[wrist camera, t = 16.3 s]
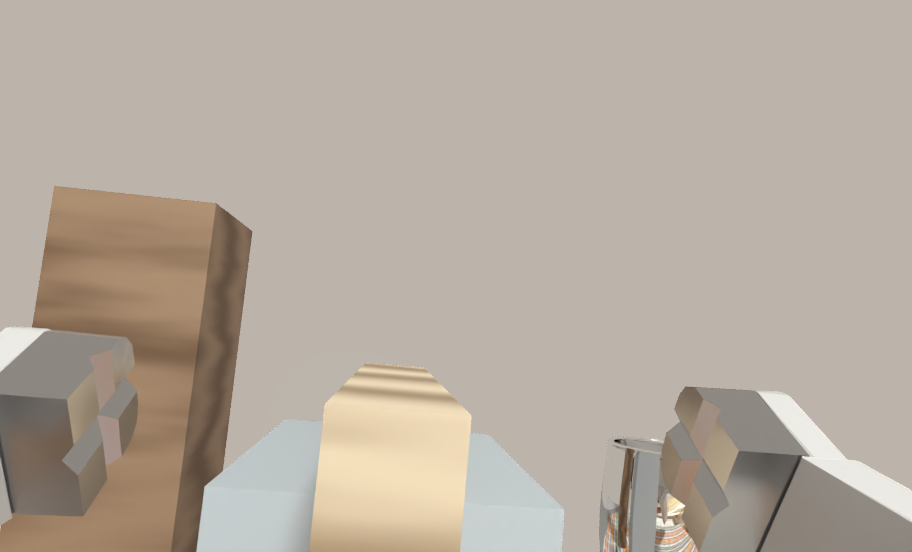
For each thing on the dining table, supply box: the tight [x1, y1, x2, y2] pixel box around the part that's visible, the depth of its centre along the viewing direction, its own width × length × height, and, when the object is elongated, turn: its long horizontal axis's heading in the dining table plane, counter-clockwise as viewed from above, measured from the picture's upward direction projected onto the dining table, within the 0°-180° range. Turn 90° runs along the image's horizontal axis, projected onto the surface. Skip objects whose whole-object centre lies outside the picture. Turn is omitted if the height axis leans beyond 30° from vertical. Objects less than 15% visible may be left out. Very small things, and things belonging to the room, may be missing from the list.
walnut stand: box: [0, 186, 252, 552], centre depth 36 cm, size 9×8×26 cm
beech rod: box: [309, 363, 471, 552], centre depth 23 cm, size 20×3×3 cm, turn 6°
